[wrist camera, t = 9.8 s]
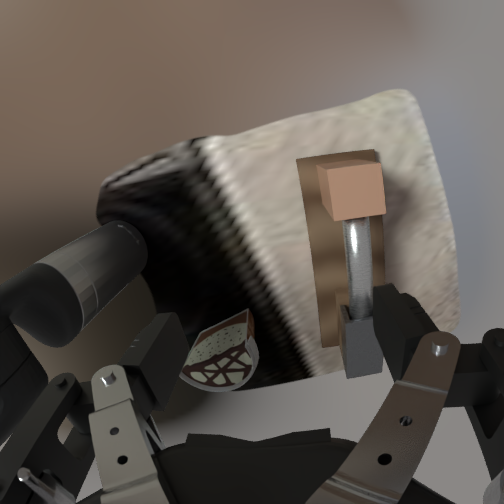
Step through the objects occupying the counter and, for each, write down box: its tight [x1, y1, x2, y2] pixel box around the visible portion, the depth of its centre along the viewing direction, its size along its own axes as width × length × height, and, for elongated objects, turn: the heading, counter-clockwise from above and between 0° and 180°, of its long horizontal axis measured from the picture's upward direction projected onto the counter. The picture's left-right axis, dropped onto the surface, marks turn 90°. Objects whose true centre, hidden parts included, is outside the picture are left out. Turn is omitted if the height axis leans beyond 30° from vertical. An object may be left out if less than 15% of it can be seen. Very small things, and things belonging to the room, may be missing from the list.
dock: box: [296, 149, 385, 358], centre depth 36 cm, size 28×10×6 cm, turn 11°
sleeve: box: [340, 305, 383, 379], centre depth 34 cm, size 9×5×4 cm, turn 12°
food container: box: [179, 308, 259, 392], centre depth 41 cm, size 12×6×10 cm, turn 123°
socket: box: [316, 159, 386, 221], centre depth 30 cm, size 5×5×9 cm
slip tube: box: [342, 216, 373, 320], centre depth 31 cm, size 17×3×3 cm, turn 11°
